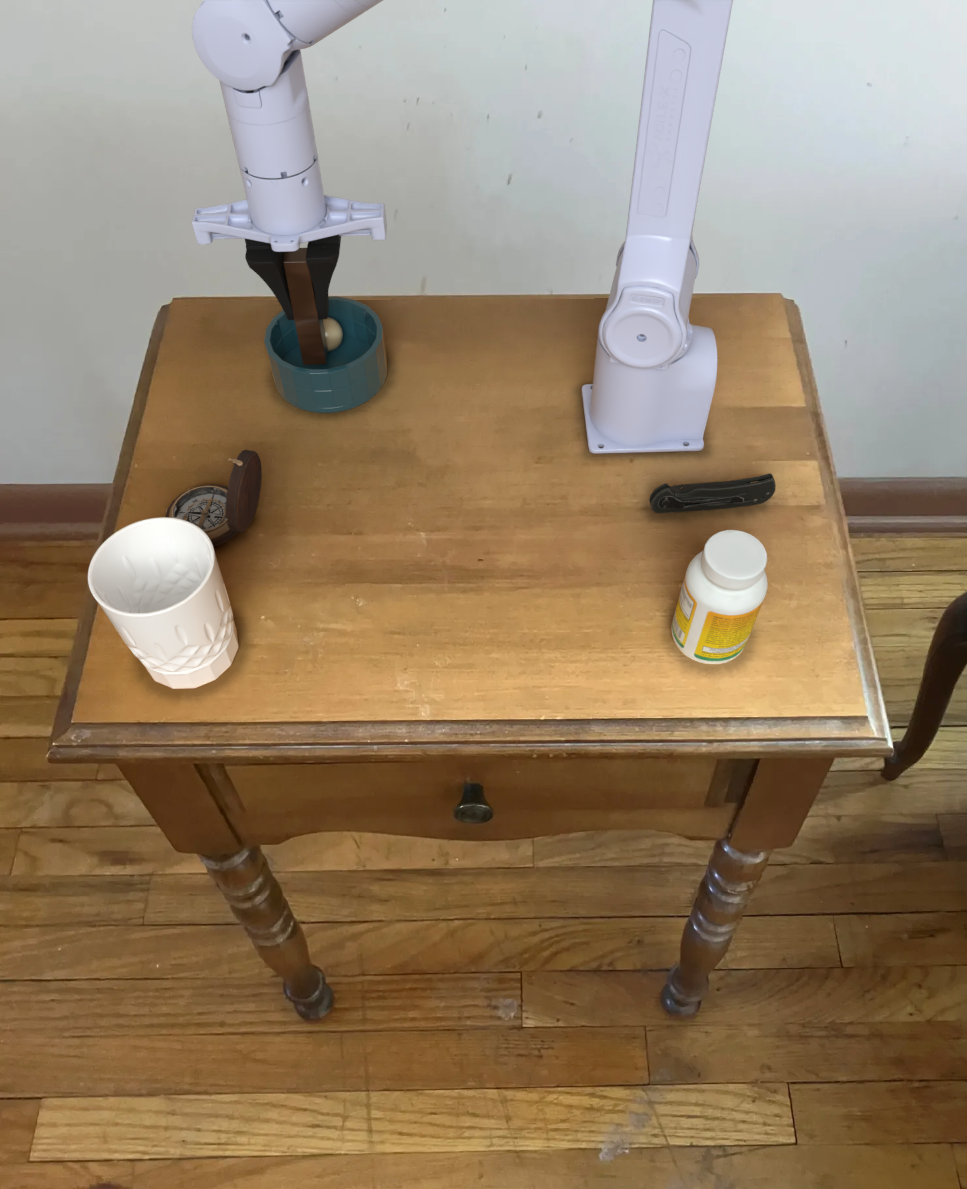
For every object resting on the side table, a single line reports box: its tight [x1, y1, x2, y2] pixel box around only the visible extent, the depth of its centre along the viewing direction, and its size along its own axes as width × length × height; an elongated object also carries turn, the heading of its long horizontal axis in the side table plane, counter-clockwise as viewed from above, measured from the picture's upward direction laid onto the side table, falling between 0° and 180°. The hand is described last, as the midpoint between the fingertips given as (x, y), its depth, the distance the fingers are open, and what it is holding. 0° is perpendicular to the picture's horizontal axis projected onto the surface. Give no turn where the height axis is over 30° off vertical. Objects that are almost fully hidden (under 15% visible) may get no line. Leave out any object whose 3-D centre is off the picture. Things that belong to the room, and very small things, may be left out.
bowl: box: [263, 295, 388, 414], centre depth 84 cm, size 10×10×4 cm
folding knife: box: [648, 472, 777, 514], centre depth 75 cm, size 10×1×3 cm, turn 96°
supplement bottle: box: [670, 529, 769, 665], centre depth 66 cm, size 5×5×10 cm
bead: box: [323, 317, 343, 352], centre depth 86 cm, size 3×3×3 cm
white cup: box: [87, 516, 239, 690], centre depth 65 cm, size 8×8×10 cm
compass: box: [164, 449, 263, 548], centre depth 73 cm, size 8×8×7 cm
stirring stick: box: [283, 247, 328, 365], centre depth 80 cm, size 2×2×10 cm
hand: (308, 312), depth 81 cm, fingers closed on stirring stick, 2 cm apart
